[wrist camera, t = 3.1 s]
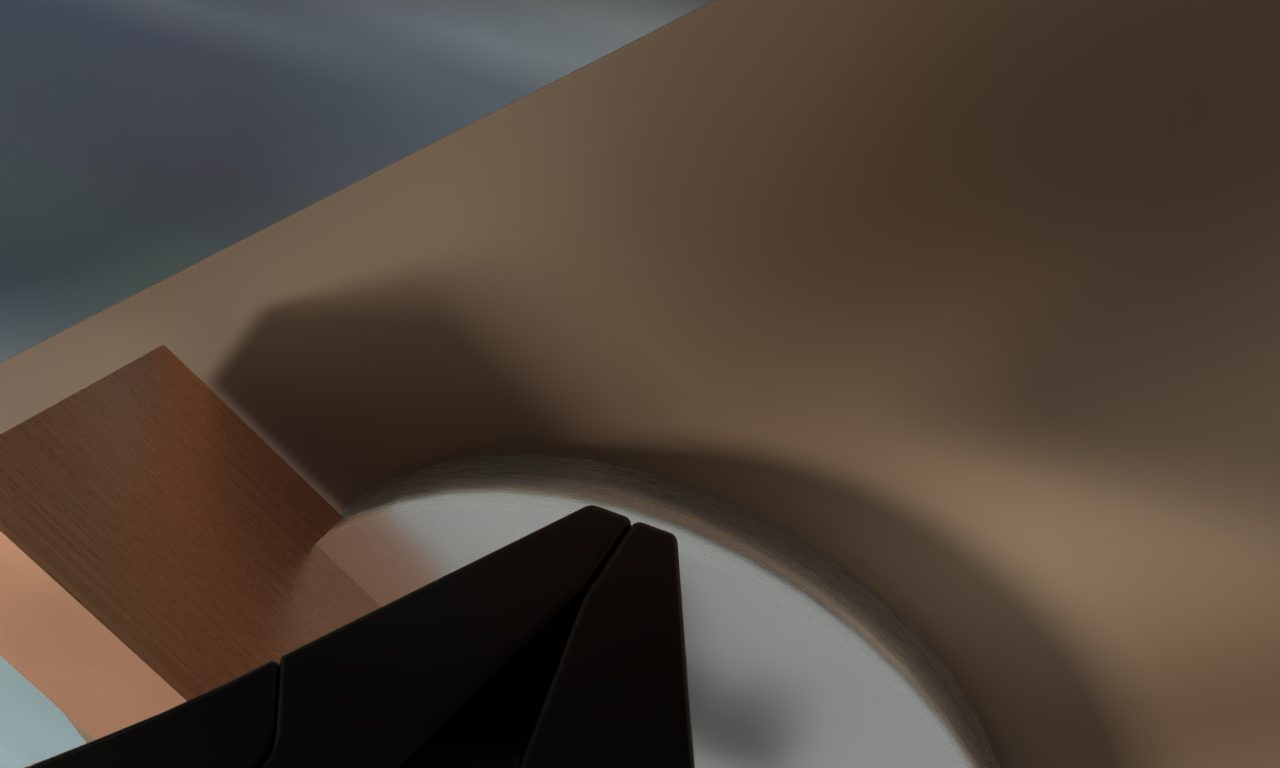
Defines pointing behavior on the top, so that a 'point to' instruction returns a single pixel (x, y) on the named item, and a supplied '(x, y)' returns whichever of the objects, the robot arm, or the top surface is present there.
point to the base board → (838, 330)
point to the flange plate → (414, 578)
